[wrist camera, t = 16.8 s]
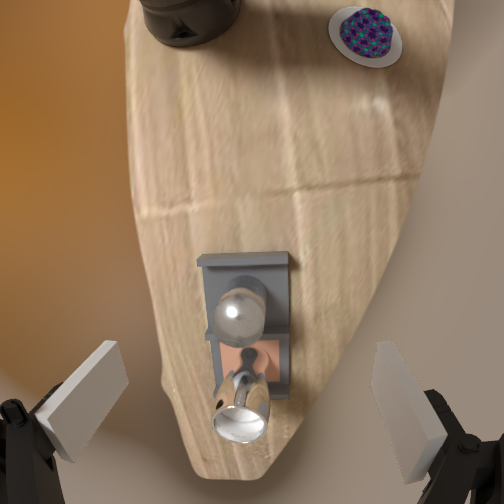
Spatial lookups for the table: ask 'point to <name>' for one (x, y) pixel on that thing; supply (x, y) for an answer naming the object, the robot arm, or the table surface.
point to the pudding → (365, 36)
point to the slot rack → (276, 317)
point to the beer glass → (243, 398)
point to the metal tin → (240, 312)
